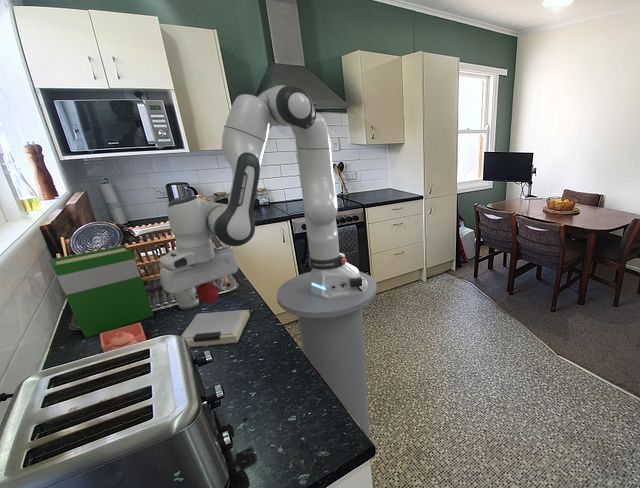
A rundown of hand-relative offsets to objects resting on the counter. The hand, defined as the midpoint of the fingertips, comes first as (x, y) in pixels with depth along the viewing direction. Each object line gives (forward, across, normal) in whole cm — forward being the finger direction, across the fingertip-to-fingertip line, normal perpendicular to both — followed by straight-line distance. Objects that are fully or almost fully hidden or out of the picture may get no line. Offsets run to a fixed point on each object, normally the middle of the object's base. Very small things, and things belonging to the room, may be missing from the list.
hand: (207, 294), depth 106 cm
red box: (+13, +20, -9) cm, 26 cm away
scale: (+13, 0, 0) cm, 13 cm away
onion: (+3, 0, 0) cm, 3 cm away
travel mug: (+13, -3, -24) cm, 28 cm away
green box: (+13, +16, -31) cm, 37 cm away
